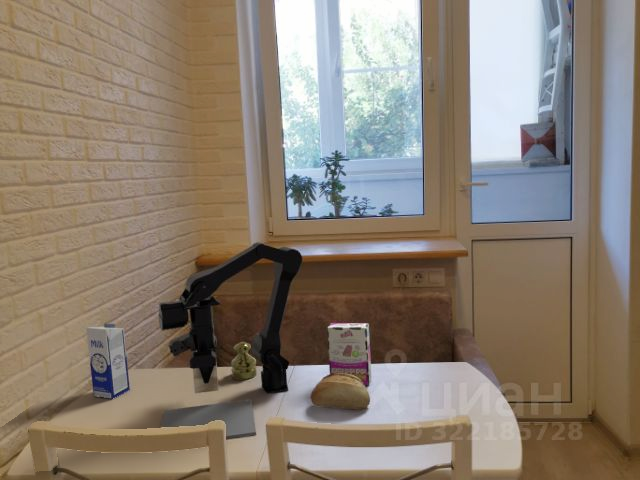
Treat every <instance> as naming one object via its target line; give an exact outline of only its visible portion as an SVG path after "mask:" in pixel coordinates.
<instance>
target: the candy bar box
mask: <svg viewBox="0 0 640 480" xmlns="http://www.w3.org/2000/svg"><path fill="white" fill-rule="evenodd" d="M369 324H370V323H368V322H366V323H365V322H357V323H356V322H343V323H342V322H330V323H329V325H328V326H327V328H326V330H327V331H326V333H327V346H328V348H327V349H328V364H329V374H333V373H347V374H352V375H354V376H356V377H358V378H359V379H360V380H361V381H362V382H363V383H364V385H365V386H370V383H371V382H372V381H371V380H372V363H371V345H370V344H371V343H370V325H369Z"/></svg>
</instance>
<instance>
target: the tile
mask: <svg viewBox="0 0 640 480" xmlns="http://www.w3.org/2000/svg"><path fill="white" fill-rule="evenodd" d="M192 377H193V378H192V379H193V388H194V394H202V393H209V392H219V379H218V378H219V377H218V365H217V362H216V366H214V368H213V371H212V374H211V377H210V380H209V383H206V384H205V383H204V381H203V378H202V375H201V372H200V369H199V368H194V369H192Z"/></svg>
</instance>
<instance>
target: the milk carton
mask: <svg viewBox="0 0 640 480" xmlns="http://www.w3.org/2000/svg"><path fill="white" fill-rule="evenodd" d="M85 330H86V337H87V338H86V339H87V349H88V355H89V356H88V358H89V365H90V366H89V367H90V373H91V374H90V375H91V383H92V392H93V396H94V395H95V396H99V397H105V398H104V399H106V398H109V399H108V400H112V399H113V398H115V397H116V398H118V397H120V396H121V394H122V395H124V394H125V393H127V392H128V390H129V391H130V389H131V386H130V378H129V368H128V360H127V359H128V358H127V349H126V341H125V339H126V338H125V328H123V327H122V328H121V327H120V328H119V327H116V323H109V322H107V323H106V322H105V323H104V326H89V327H85ZM126 391H127V392H126ZM124 392H125V393H124ZM119 395H120V396H119ZM117 396H118V397H117ZM99 397H98V398H99ZM116 398H115V399H116ZM113 400H114V399H113Z"/></svg>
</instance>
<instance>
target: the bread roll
mask: <svg viewBox="0 0 640 480" xmlns="http://www.w3.org/2000/svg"><path fill="white" fill-rule="evenodd" d="M310 400H311V403H312V405H314V406H315V407H320V408H321V407H322V408H336V409H346V410H347V409H348V410H358V411H359V410H363V409H364V410H365V408H368V406H369V405H370V402H371V396H370V394H369V391H368V389H367V387H366V385H364V383H363V382H362V381H361V380H360V379H359V378H358V377H356V376H354V375H352V374H347V373H333V374H330V373H329V374H326V376H324V377H322V379H320V381H319V382H317V384H316V385H315V387H314V388H313V390H312V391H311V394H310Z"/></svg>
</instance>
